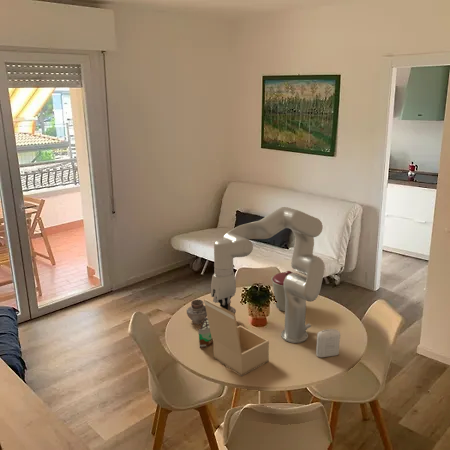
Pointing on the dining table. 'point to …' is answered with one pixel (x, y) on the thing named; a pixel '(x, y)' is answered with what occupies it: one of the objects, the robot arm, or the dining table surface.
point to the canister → (280, 289)
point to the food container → (205, 335)
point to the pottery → (201, 311)
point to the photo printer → (328, 343)
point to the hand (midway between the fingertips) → (224, 312)
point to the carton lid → (223, 326)
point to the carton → (244, 352)
